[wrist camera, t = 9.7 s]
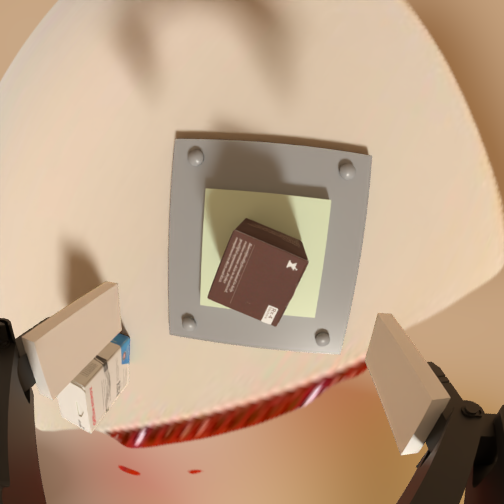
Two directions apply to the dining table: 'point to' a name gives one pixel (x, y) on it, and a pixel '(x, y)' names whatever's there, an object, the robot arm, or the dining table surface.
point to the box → (259, 272)
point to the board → (276, 217)
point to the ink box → (97, 385)
